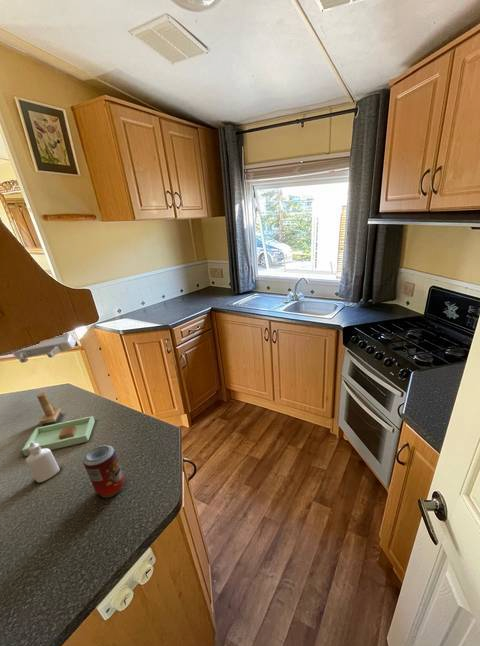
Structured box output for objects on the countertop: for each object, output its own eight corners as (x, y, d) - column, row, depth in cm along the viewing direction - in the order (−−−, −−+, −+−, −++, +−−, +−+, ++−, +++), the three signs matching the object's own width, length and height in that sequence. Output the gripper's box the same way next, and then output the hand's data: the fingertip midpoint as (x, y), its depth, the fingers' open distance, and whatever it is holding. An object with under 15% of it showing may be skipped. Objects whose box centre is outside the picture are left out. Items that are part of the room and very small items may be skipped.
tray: (24, 456, 90) (21, 450, 89) (38, 433, 100) (35, 428, 99) (88, 441, 95) (85, 435, 94) (95, 421, 105) (92, 415, 104)
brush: (42, 428, 102) (29, 401, 97) (49, 417, 109) (37, 390, 104) (57, 425, 103) (44, 398, 98) (63, 414, 110) (51, 388, 105)
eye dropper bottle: (37, 474, 83) (20, 441, 78) (60, 466, 85) (45, 433, 80) (34, 484, 79) (16, 451, 74) (59, 476, 81) (42, 443, 76)
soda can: (120, 497, 74) (106, 461, 69) (92, 501, 73) (75, 464, 68) (130, 476, 80) (117, 441, 75) (103, 479, 80) (89, 444, 75)
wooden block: (60, 439, 95) (58, 436, 95) (63, 432, 99) (62, 428, 98) (73, 436, 96) (72, 432, 96) (76, 429, 100) (75, 425, 99)
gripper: (18, 336, 112) (-1, 357, 101) (73, 326, 114) (60, 345, 103) (28, 349, 116) (11, 370, 105) (81, 339, 118) (70, 359, 107)
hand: (36, 358), depth 104 cm, fingers open, 8 cm apart
